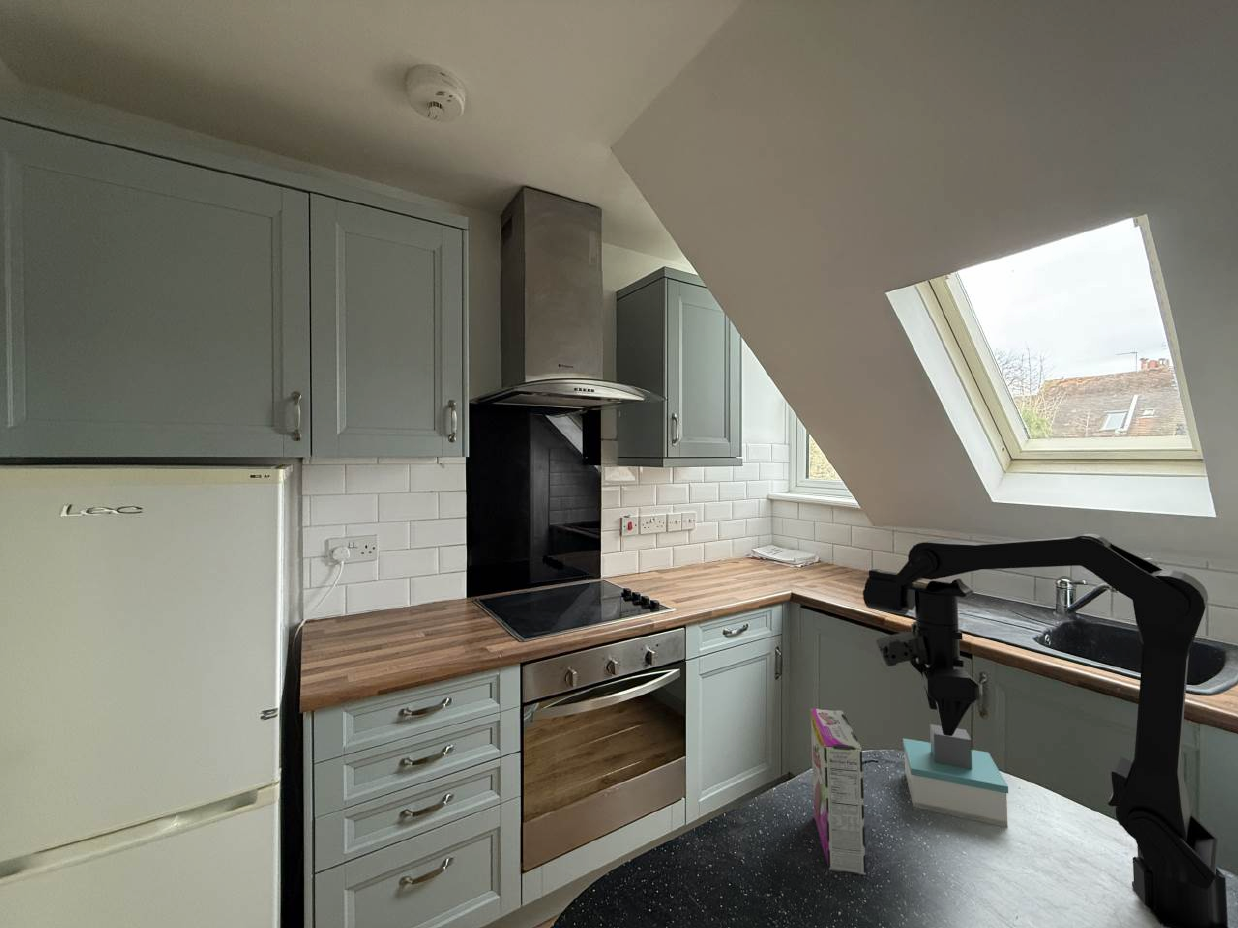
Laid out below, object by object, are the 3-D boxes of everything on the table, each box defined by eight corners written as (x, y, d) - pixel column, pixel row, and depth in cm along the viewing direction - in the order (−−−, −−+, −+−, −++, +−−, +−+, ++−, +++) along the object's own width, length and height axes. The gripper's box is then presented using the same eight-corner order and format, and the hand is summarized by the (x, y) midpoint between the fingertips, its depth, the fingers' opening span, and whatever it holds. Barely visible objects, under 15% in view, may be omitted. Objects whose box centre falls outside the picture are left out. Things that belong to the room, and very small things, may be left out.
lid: (989, 765, 82) (987, 724, 83) (1008, 800, 73) (1006, 755, 74) (903, 749, 87) (902, 711, 88) (911, 781, 78) (910, 738, 78)
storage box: (988, 790, 82) (987, 759, 82) (1007, 827, 73) (1006, 792, 74) (905, 774, 87) (904, 744, 87) (913, 806, 78) (912, 774, 78)
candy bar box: (811, 815, 76) (809, 706, 77) (846, 820, 75) (843, 709, 76) (826, 872, 65) (823, 743, 66) (867, 877, 64) (864, 747, 65)
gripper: (872, 603, 91) (875, 691, 90) (887, 632, 73) (890, 741, 73) (944, 608, 87) (948, 700, 86) (978, 639, 69) (982, 755, 69)
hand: (940, 721), depth 78 cm, fingers open, 9 cm apart
